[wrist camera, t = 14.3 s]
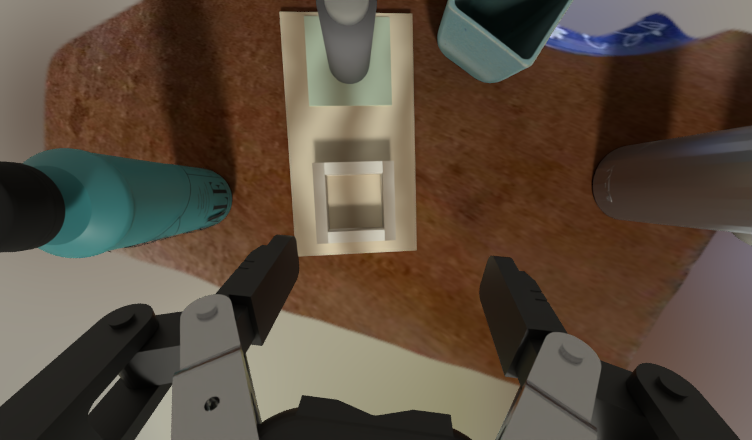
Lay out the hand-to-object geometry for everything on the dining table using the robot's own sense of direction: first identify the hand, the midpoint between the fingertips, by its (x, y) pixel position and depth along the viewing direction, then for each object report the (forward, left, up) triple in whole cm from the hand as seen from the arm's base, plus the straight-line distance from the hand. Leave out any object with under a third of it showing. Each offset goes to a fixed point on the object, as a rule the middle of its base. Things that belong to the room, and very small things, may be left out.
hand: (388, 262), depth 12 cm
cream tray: (+1, -9, -21) cm, 23 cm away
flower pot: (-13, -19, -21) cm, 31 cm away
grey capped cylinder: (+1, -17, -20) cm, 26 cm away
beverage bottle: (+17, -3, -21) cm, 27 cm away
